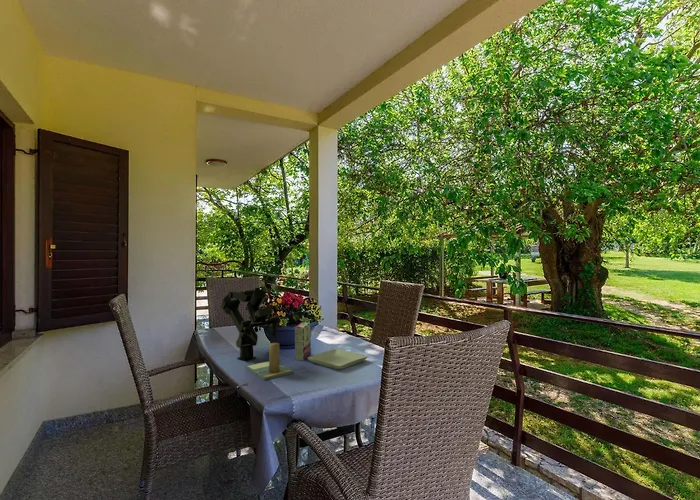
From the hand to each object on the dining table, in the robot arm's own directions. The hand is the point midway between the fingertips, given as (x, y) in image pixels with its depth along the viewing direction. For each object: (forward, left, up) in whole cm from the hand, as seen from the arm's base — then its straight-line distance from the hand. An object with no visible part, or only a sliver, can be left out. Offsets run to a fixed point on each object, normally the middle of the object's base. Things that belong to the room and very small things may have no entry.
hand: (265, 339), depth 172 cm
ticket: (-1, 0, -13) cm, 13 cm away
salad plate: (+20, +27, -14) cm, 37 cm away
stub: (+8, -2, -13) cm, 15 cm away
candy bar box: (+1, +23, -14) cm, 27 cm away
